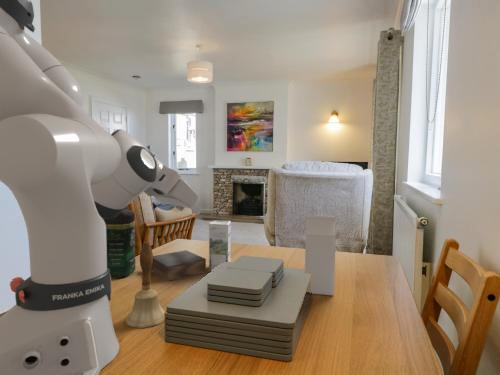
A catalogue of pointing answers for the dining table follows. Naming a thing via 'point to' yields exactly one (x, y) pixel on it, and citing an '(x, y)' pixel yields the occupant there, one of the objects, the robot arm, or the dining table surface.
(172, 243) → the dining table surface
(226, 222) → the syrup box
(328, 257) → the milk carton
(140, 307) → the hand bell
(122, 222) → the coffee jar
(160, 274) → the podium
